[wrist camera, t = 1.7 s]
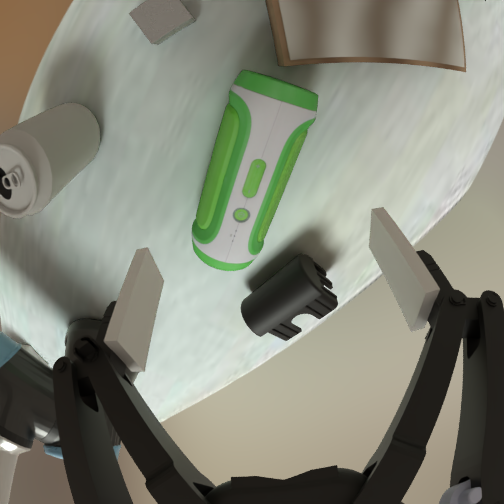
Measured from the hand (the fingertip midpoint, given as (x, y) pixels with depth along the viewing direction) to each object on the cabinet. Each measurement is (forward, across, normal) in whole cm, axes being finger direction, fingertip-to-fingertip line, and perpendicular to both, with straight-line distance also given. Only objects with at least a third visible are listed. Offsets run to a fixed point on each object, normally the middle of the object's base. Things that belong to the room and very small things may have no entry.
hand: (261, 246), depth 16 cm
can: (+14, -17, +8) cm, 24 cm away
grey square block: (+15, -5, +16) cm, 22 cm away
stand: (+14, +14, +16) cm, 25 cm away
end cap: (+15, +1, -17) cm, 22 cm away
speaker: (+15, 0, 0) cm, 15 cm away
